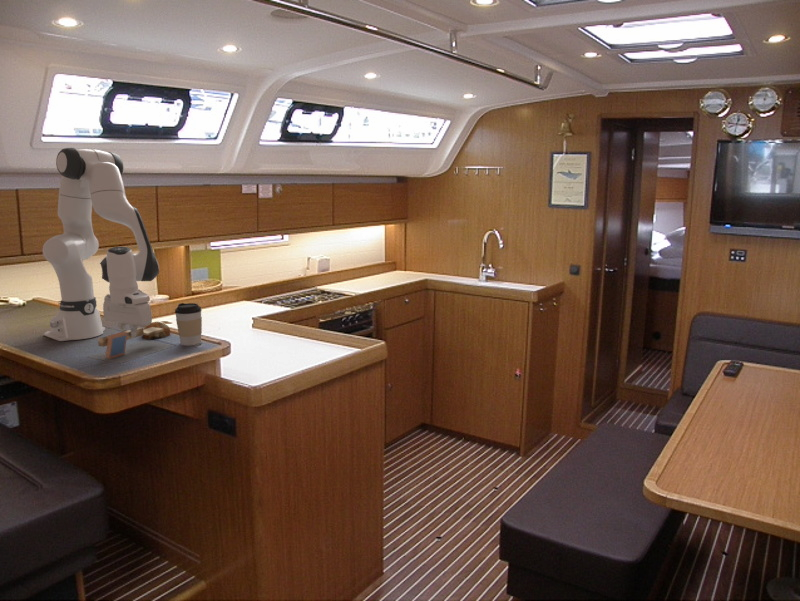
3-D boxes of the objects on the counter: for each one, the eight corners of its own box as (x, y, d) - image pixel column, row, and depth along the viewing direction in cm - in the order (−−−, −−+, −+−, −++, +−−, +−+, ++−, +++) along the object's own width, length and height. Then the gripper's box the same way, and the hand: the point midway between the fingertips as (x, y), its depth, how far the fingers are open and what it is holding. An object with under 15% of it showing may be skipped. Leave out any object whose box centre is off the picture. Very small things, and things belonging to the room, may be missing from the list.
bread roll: (174, 345, 243) (176, 324, 245) (161, 340, 233) (164, 319, 235) (148, 345, 244) (151, 324, 246) (135, 340, 234) (138, 318, 236)
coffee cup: (210, 343, 231) (206, 302, 228) (192, 350, 223) (188, 307, 220) (190, 341, 235) (186, 300, 232) (172, 347, 227) (168, 305, 223)
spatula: (106, 347, 208) (105, 340, 207) (95, 345, 210) (94, 338, 210) (163, 330, 227) (163, 323, 227) (152, 328, 230) (152, 322, 229)
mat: (87, 360, 214) (87, 357, 213) (144, 343, 233) (144, 340, 233) (119, 366, 206) (119, 363, 206) (176, 348, 226) (176, 345, 225)
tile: (105, 357, 211) (108, 335, 208) (121, 352, 216) (124, 331, 213) (108, 359, 210) (111, 337, 208) (124, 354, 216) (127, 333, 213)
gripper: (96, 295, 218) (100, 335, 220) (137, 300, 208) (141, 341, 211) (112, 292, 223) (116, 330, 226) (153, 296, 213) (157, 337, 216)
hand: (129, 336), depth 218 cm, fingers closed on spatula, 2 cm apart
